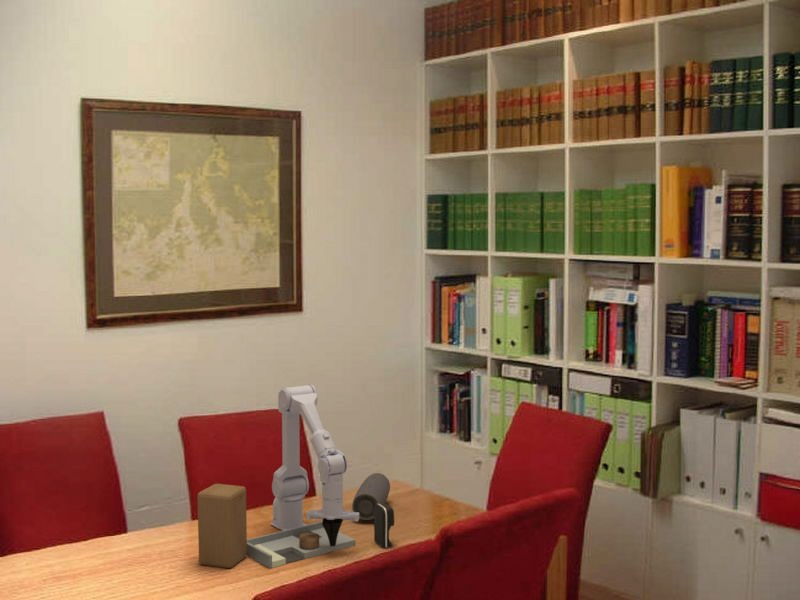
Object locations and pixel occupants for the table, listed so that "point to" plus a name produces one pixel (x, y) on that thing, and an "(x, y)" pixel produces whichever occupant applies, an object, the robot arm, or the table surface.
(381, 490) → the bluetooth speaker
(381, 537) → the battery charger
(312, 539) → the puck
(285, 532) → the trap board
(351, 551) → the table surface
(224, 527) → the wooden block
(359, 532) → the table surface
